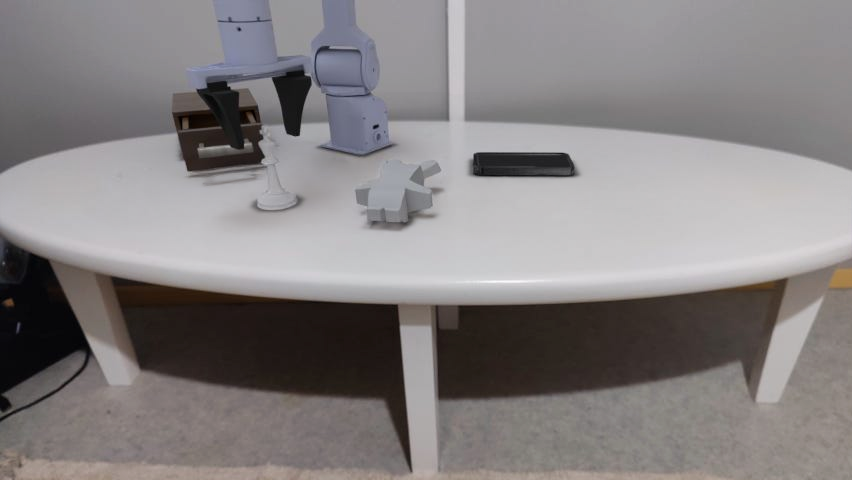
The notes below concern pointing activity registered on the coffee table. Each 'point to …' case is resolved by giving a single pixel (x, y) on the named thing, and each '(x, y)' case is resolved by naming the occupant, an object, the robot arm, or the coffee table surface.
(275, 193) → the chess piece
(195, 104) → the cabinet
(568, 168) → the phone
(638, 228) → the coffee table surface
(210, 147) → the drawer
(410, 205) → the grey figure-shaped block
